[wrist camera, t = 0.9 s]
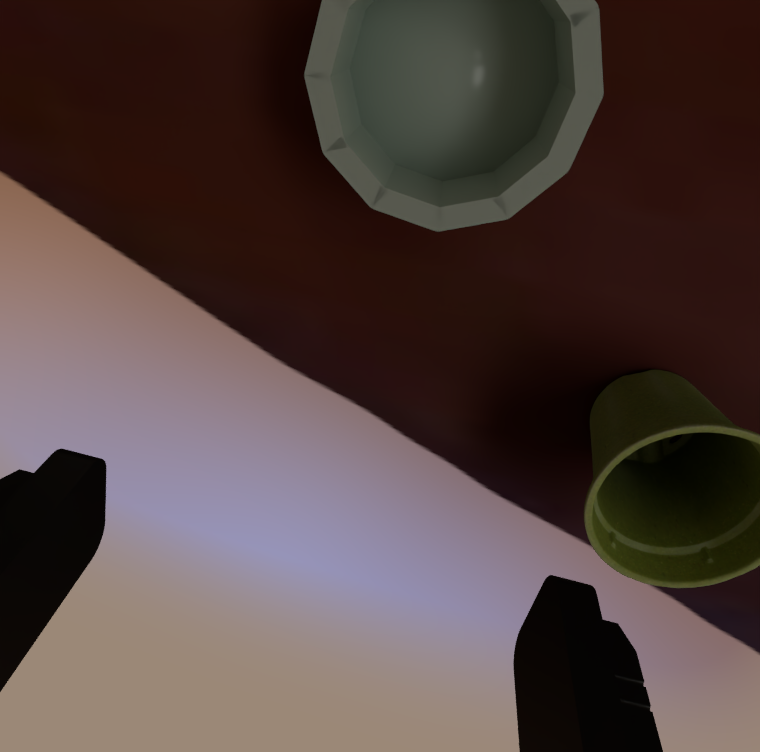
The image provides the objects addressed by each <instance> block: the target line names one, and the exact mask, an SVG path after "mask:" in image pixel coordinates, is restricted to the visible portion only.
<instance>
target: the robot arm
mask: <svg viewBox="0 0 760 752" xmlns="http://www.w3.org/2000/svg"><path fill="white" fill-rule="evenodd" d="M105 503H106V463H105V461H104V460H103V459H100V458H96V457H92V456H88V455H85V454H81V453H77V452H73V451H69V450H65V449H59V450H56V451H55V452H54V453H53V454H52V455H51V456H50V457H49V458H48V459H47V460H46V461H45V462H44V463H43V464H42V465H41V466H40V467H39V468H38V469H37V470H36V472H35V473H31V472H27V471H23V470H17V471H16V472H13V473H12V474H10V475H8V476H6V477H4V478H2V479H0V692H1V690H2V689H3V687H4V686H5V684H6V683H7V681H8V680H9V678H10V677H11V676H12V674H13V673H14V671H15V670H16V668H17V667H18V665H19V664H20V663H21V661H22V659H23V658H24V657H25V655H26V654H27V652H28V651H29V649H30V648H31V647H32V645H33V644H34V642H35V641H36V639H37V638H38V636H39V635H40V633H41V632H42V631H43V629H44V628H45V626H46V625H47V623H48V622H49V620H50V619H51V617H52V616H53V615H54V613H55V612H56V610H57V609H58V607H59V606H60V605H61V603H62V602H63V600H64V599H65V597H66V596H67V594H68V593H69V592H70V590H71V589H72V587H73V586H74V584H75V583H76V581H77V580H78V578H79V577H80V576H81V574H82V573H83V571H84V570H85V568H86V567H87V565H88V564H89V563H90V561H91V560H92V558H93V556H94V555H95V553H96V551H97V549H98V546H99V544H100V541H101V539H102V535H103V531H104V526H105ZM514 678H515V691H516V692H515V693H516V706H517V720H518V734H519V748H520V752H663V750H662V746H661V742H660V739H659V735H658V731H657V727H656V724H655V720H654V716H653V712H650V702H649V697H648V694H647V690H646V687H644V686H643V683H644V679H643V675H642V672H641V668H640V664H639V660H638V656H637V653H636V651H635V649H634V648H633V646H632V645H631V643H630V641H629V640H628V638H627V637H626V635H625V634H624V632H623V631H622V629H621V628H620V626H619V625H618V624H617V623H614V622H610V621H606V620H602V615H601V611H600V606H599V602H598V597H597V594H596V591H595V589H594V587H593V586H591V585H588V584H584V583H580V582H576V581H572V580H568V579H565V578H561V577H557V576H553V575H550V576H548V577H547V578H546V579H545V581H544V583H543V585H542V587H541V589H540V591H539V593H538V595H537V597H536V599H535V601H534V603H533V605H532V607H531V609H530V611H529V613H528V615H527V617H526V619H525V621H524V623H523V625H522V627H521V629H520V631H519V634H518V637H517V641H516V645H515V652H514Z"/></svg>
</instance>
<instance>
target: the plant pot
mask: <svg viewBox="0 0 760 752" xmlns="http://www.w3.org/2000/svg"><path fill="white" fill-rule="evenodd" d="M590 433H591V445H592V460H593V481H592V483H591V485H590V487H589V490H588V493H587V496H586V500H585V505H584V522H585V528H586V532H587V536H588V538H589V541H590V543H591V545H592V547H593V549H594V550H595V552H596V553H597V554H598V555H599V556H600V558H601V559H602V560H603V561H604V562H605V563H607V564H608V565H609V566H610V567H612V568H613V569H614V570H616V571H617V572H619V573H621V574H622V575H624V576H627V577H629V578H632V579H635V580H637V581H640V582H642V583H646V584H650V585H655V586H663V587H672V588H688V587H700V586H708V585H713V584H716V583H720V582H723V581H726V580H729V579H731V578H734V577H737V576H739V575H742V574H744V573H746V572H748V571H750V570H752V569H754V568H756V567H758V566H759V565H760V434H757V433H755V432H752V431H750V430H746V429H743V428H740V427H739V426H736V425H734V424H733V423H732V422H731V421H730V420H729V419H728V418H727V417H726V416H724V415H723V414H722V413H721V412H720V411H719V410H718V409H717V408H716V407H715V406H714V405H713V404H712V403H711V402H710V401H709V400H708V399H706V398H705V397H704V396H703V395H702V394H701V393H700V392H699V391H698V390H697V389H696V388H695V387H694V386H693V385H692V384H691V383H689V382H688V381H687V380H686V379H684V378H683V377H681V376H679V375H677V374H674V373H671V372H667V371H663V370H649V371H645V372H641V373H636V374H631V375H626V376H622V377H620V378H618V379H617V380H615V381H613V382H612V383H611V384H609V385H608V386H607V387H606V388H605V389H604V390H603V391H602V392H601V393H600V395H599V396H598V397H597V399H596V401H595V402H594V404H593V407H592V409H591V413H590ZM680 434H683V435H682V436H681V438H680V439H679V440H677V441H676V442H674V443H670V441H669V440H670V439H672V438H673V437H674V436H675V435H680Z"/></svg>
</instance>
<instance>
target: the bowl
mask: <svg viewBox="0 0 760 752" xmlns="http://www.w3.org/2000/svg"><path fill="white" fill-rule="evenodd" d="M597 7H598V4H597V3H596V1H595V0H322V2H321V6H320V11H319V15H318V19H317V23H316V27H315V31H314V35H313V40H312V44H311V48H310V52H309V56H308V60H307V64H306V69H305V73H304V75H305V76H304V78H305V82H306V86H307V90H308V94H309V98H310V103H311V107H312V111H313V115H314V119H315V123H316V127H317V132H318V136H319V140H320V144H321V148H322V152H324V153H323V154H324V155H325V156H326V157H327V159H328V160H329V161H330V162H331V163H332V164H333V165H334V167H335V168H336V169H337V170H338V171H339V172H340V173H341V175H342V176H343V177H344V178H345V179H346V180H347V181H348V183H349V184H350V185H351V186H352V187H353V188H354V189H355V191H356V192H357V193H358V194H359V195H360V196H361V197H362V198H363V200H364V201H365V202H366V203H367V204H368V205H369V206H370V208H371V207H372V209H374V210H377V211H380V212H383V213H386V214H388V215H391V216H394V217H397V218H400V219H403V220H405V221H408V222H411V223H414V224H417V225H420V226H422V227H425V228H428V229H431V230H434V231H436V232H437V230H438V232H439V231H445V230H450V229H456V228H462V227H467V226H473V225H479V224H484V223H490V222H496V221H502V220H507V218H508V219H509V218H510V217H512V216H513V215H514V214H515V213H517V212H518V211H519V210H520V209H522V208H523V207H524V206H525V205H527V204H528V203H529V202H531V201H532V200H533V199H534V198H536V197H537V196H538V195H539V194H541V193H542V192H543V191H545V190H546V189H547V188H548V187H550V186H551V185H552V184H553V183H555V182H556V181H557V180H558V179H560V178H561V177H562V176H564V175H565V174H566V173H567V172H568V171H569V169H570V167H571V165H572V163H573V161H574V159H575V156H576V154H577V152H578V150H579V148H580V146H581V143H582V141H583V139H584V137H585V135H586V132H587V130H588V128H589V126H590V124H591V122H592V119H593V117H594V115H595V113H596V111H597V109H598V106H599V104H600V102H601V100H602V98H603V94H604V92H603V73H602V54H601V34H600V15H599V8H597ZM567 170H568V171H567Z"/></svg>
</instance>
